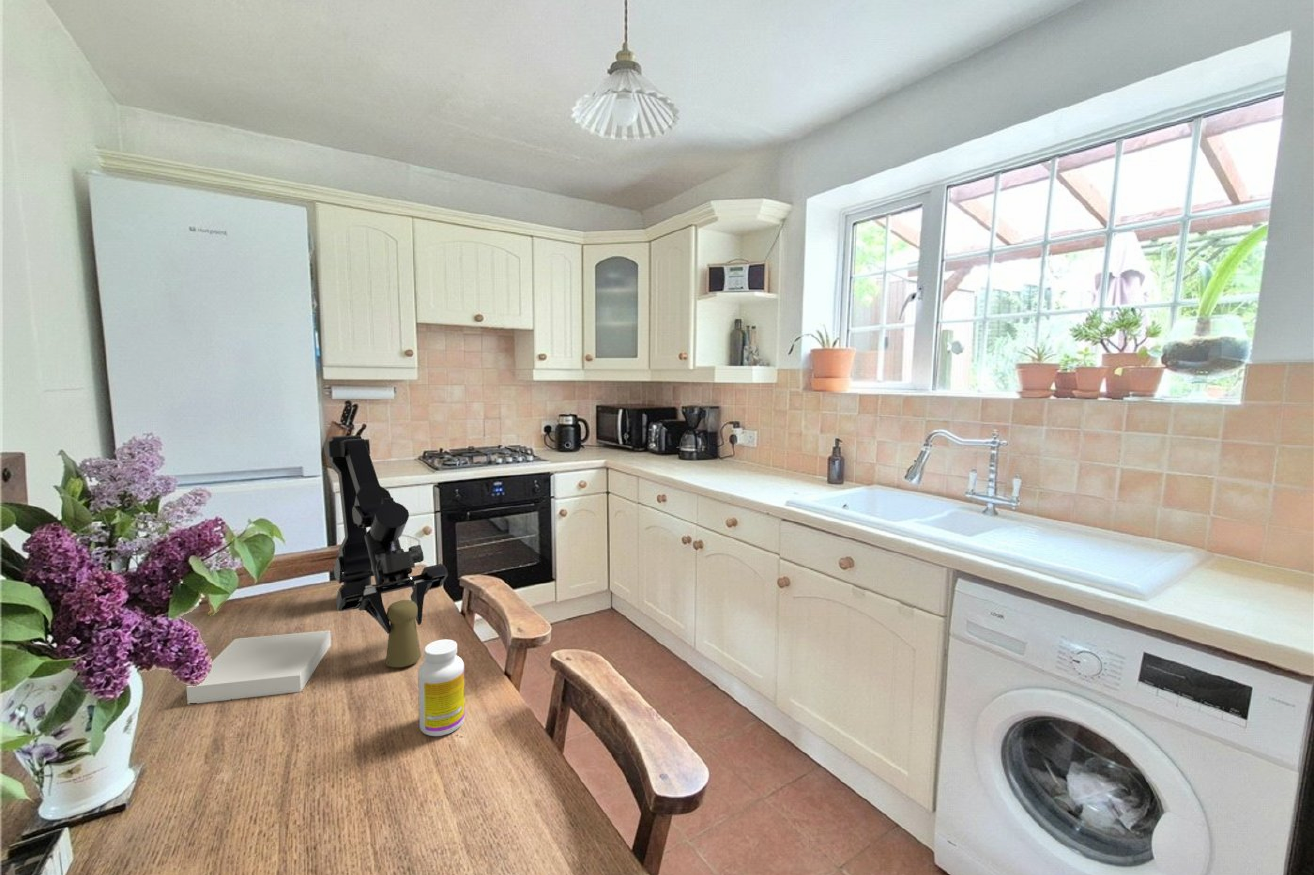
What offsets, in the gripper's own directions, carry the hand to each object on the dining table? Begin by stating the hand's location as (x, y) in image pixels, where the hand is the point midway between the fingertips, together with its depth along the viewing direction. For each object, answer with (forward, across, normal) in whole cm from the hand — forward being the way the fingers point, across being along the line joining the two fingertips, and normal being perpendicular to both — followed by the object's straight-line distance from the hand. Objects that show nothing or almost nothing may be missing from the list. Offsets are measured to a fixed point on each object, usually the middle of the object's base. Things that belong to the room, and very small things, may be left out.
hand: (405, 628), depth 98 cm
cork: (+4, 0, +6) cm, 7 cm away
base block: (-4, -20, +15) cm, 25 cm away
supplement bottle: (+20, -1, -10) cm, 22 cm away
